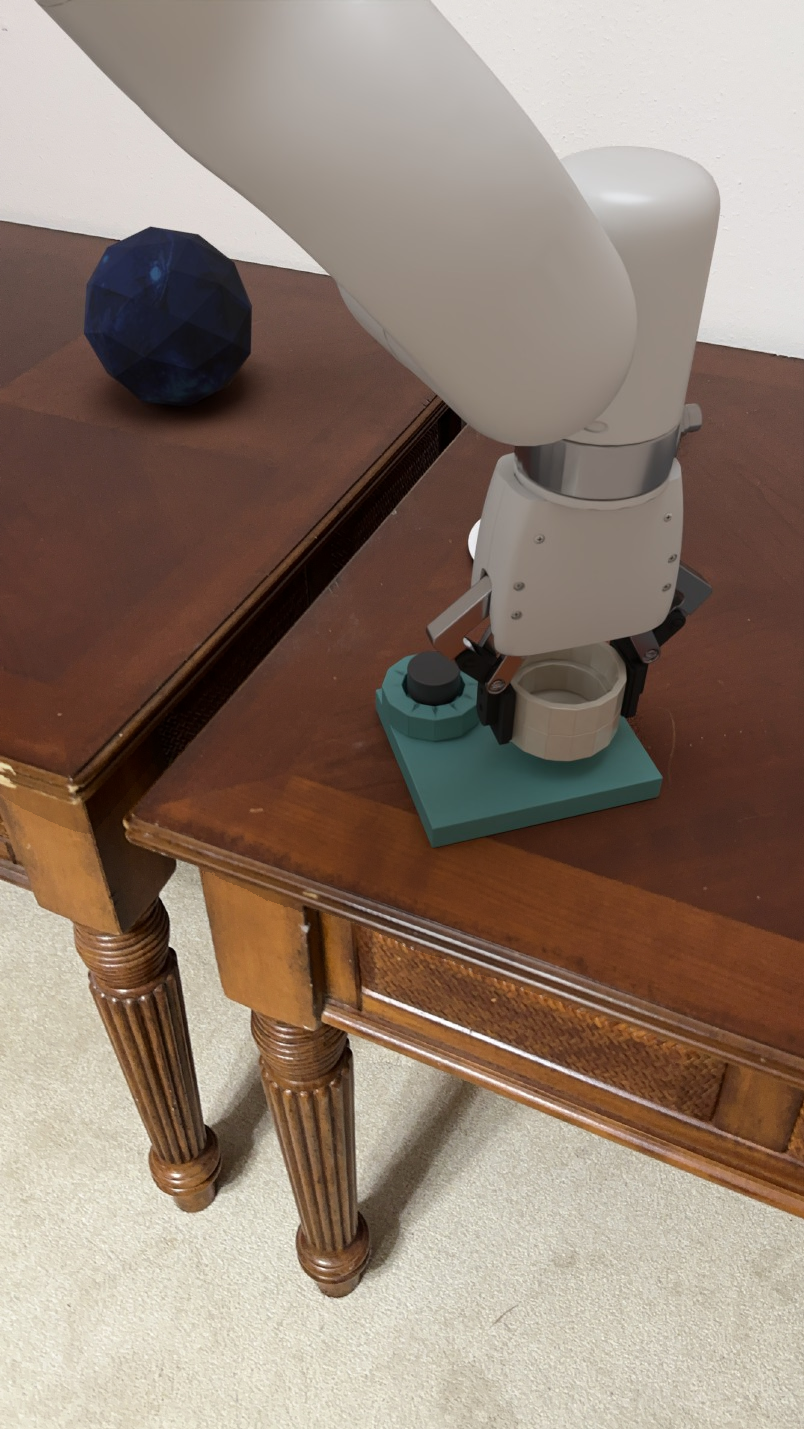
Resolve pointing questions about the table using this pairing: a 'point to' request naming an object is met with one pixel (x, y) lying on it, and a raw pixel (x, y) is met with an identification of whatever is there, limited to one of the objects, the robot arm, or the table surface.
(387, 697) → the teal dial base
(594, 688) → the bowl
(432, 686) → the button
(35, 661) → the table surface
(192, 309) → the decorative orb
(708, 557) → the table surface
